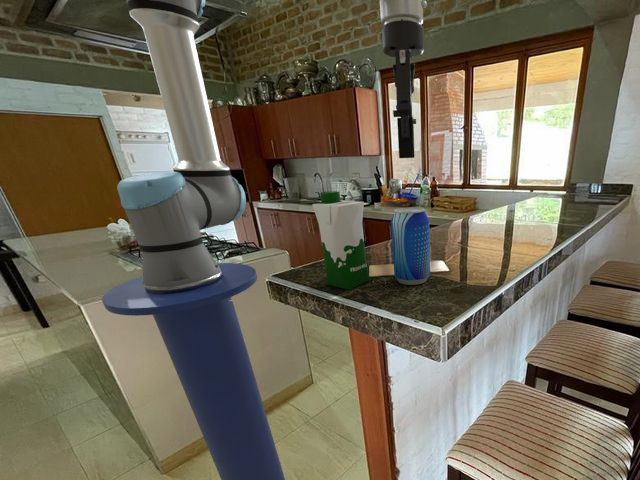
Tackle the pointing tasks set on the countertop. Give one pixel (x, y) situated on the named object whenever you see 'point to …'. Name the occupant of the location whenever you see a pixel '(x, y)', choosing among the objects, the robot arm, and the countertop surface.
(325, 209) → the milk carton
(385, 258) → the countertop surface
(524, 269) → the countertop surface
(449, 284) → the countertop surface
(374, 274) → the mat
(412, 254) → the beer can
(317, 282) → the countertop surface
